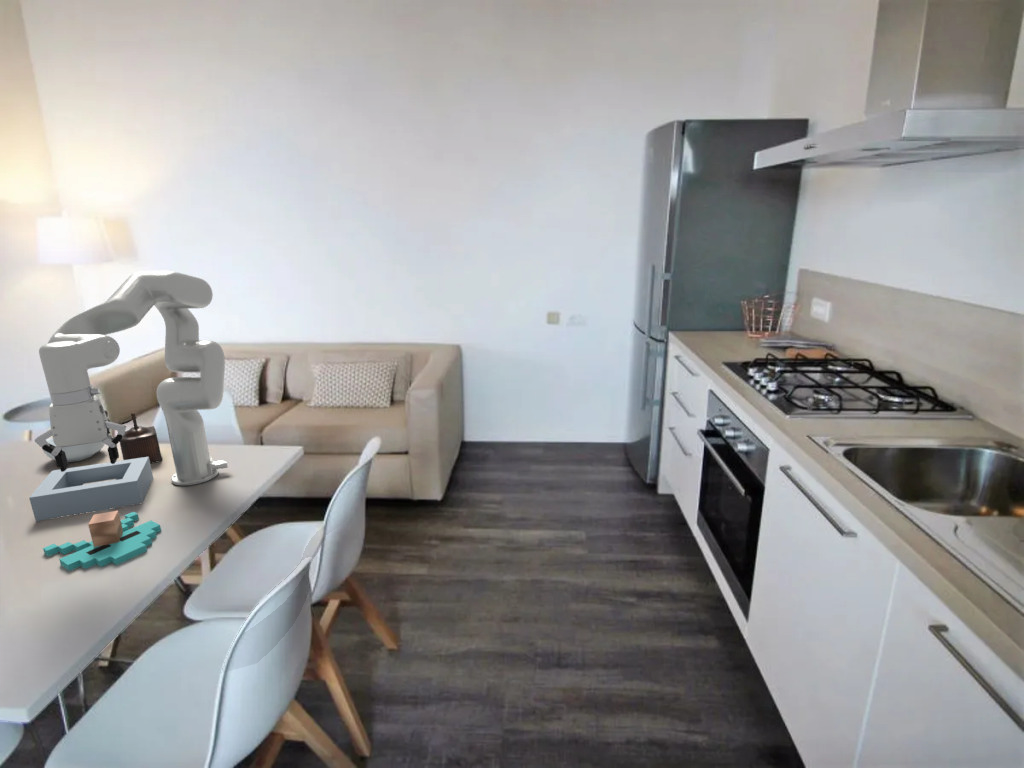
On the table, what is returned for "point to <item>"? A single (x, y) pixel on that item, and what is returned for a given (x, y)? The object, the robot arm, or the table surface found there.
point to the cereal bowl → (77, 451)
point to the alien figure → (108, 546)
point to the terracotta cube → (105, 528)
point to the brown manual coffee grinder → (139, 442)
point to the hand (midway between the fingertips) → (89, 465)
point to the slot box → (92, 488)
